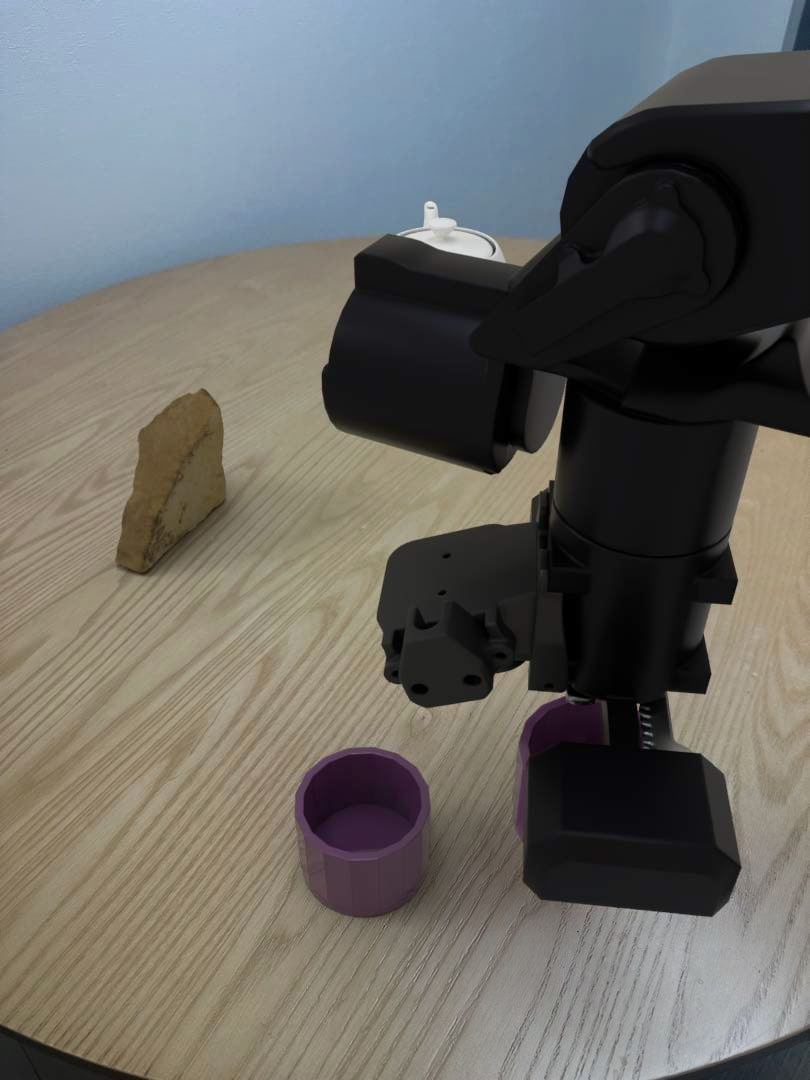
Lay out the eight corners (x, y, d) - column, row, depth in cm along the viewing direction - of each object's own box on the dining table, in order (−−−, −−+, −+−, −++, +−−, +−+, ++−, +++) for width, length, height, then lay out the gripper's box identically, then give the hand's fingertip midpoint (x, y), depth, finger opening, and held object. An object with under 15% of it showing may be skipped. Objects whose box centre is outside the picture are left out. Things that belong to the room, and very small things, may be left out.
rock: (141, 578, 57) (276, 498, 61) (65, 454, 55) (208, 380, 60) (111, 582, 67) (229, 512, 71) (45, 476, 65) (170, 411, 69)
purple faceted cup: (454, 853, 45) (457, 795, 42) (368, 943, 41) (365, 887, 39) (363, 784, 48) (360, 726, 45) (275, 863, 44) (266, 805, 42)
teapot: (532, 387, 80) (543, 264, 73) (371, 393, 79) (367, 270, 73) (494, 281, 97) (500, 175, 90) (362, 286, 96) (358, 179, 90)
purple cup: (678, 811, 41) (698, 744, 38) (604, 907, 37) (619, 841, 35) (562, 739, 44) (573, 673, 41) (484, 822, 41) (489, 755, 38)
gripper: (421, 354, 38) (419, 632, 48) (348, 699, 24) (366, 997, 33) (701, 368, 37) (641, 649, 47) (804, 737, 23) (686, 1033, 32)
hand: (585, 799), depth 40 cm, fingers closed on purple cup, 6 cm apart
